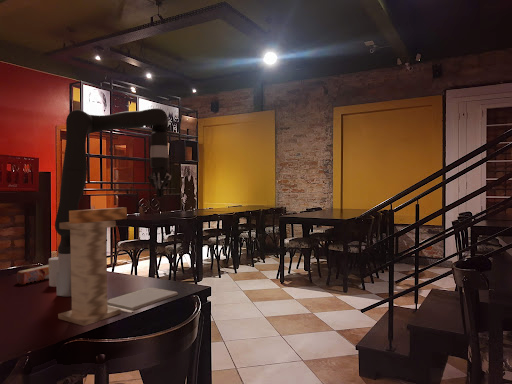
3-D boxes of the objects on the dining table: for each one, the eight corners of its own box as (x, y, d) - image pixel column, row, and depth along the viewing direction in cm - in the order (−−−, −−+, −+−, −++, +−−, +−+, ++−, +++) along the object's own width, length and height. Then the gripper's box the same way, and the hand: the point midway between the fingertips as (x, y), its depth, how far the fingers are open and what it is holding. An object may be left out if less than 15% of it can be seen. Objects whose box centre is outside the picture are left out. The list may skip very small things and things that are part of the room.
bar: (119, 218, 144) (119, 207, 144) (126, 218, 142) (126, 207, 142) (69, 222, 127) (69, 210, 127) (76, 223, 125) (76, 211, 125)
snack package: (23, 285, 175) (23, 270, 175) (15, 284, 179) (15, 269, 178) (66, 275, 194) (66, 262, 194) (58, 274, 197) (57, 261, 197)
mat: (131, 310, 136) (131, 307, 136) (102, 303, 145) (102, 301, 145) (177, 294, 156) (177, 292, 156) (149, 289, 164) (149, 287, 164)
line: (130, 313, 133) (130, 312, 133) (94, 304, 144) (94, 303, 144) (134, 312, 135) (134, 311, 135) (97, 303, 145) (97, 302, 145)
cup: (53, 282, 180) (53, 256, 179) (72, 281, 180) (71, 256, 180) (45, 286, 172) (45, 260, 171) (64, 286, 172) (64, 259, 172)
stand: (95, 307, 141) (93, 219, 140) (120, 313, 133) (118, 220, 133) (58, 318, 129) (56, 222, 129) (83, 325, 122) (81, 224, 121)
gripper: (141, 157, 164) (142, 198, 164) (164, 155, 157) (164, 198, 157) (155, 158, 170) (155, 197, 170) (177, 156, 163) (177, 197, 163)
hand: (160, 197), depth 164 cm, fingers closed
